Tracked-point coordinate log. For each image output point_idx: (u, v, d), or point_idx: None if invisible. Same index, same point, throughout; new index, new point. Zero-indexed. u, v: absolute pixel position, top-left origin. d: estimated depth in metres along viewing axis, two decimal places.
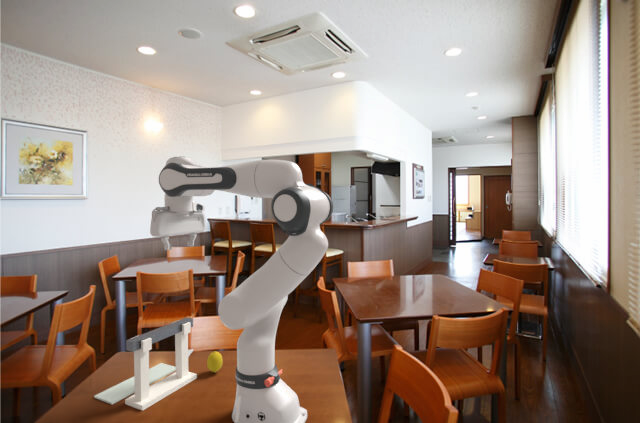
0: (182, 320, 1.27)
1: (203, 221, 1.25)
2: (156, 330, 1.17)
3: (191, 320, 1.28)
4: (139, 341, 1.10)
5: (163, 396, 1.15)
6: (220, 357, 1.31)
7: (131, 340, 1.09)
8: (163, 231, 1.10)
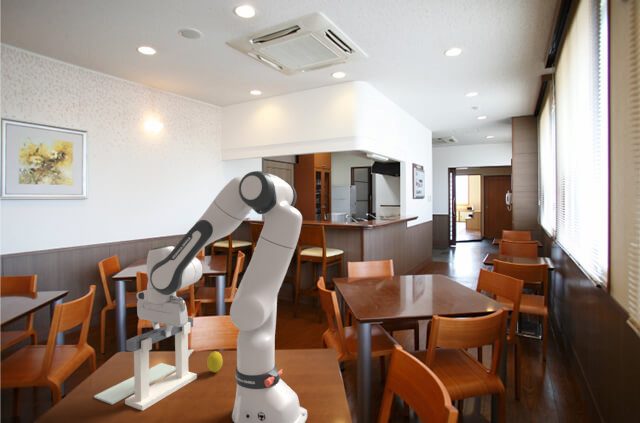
0: None
1: None
2: (156, 330, 1.17)
3: (191, 320, 1.28)
4: (139, 341, 1.10)
5: (163, 396, 1.15)
6: (220, 357, 1.31)
7: (131, 340, 1.09)
8: None
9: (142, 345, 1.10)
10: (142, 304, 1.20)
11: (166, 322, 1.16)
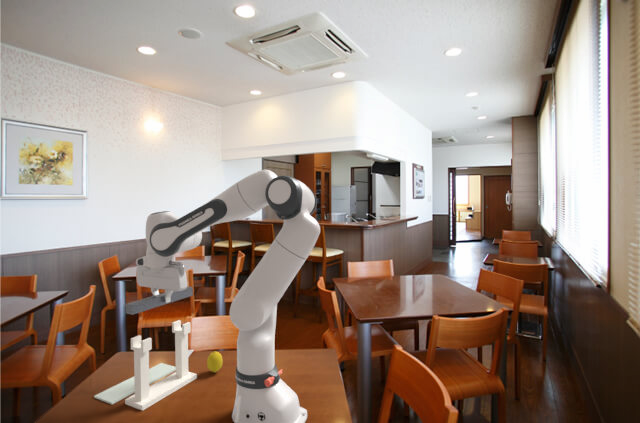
0: None
1: None
2: (156, 296, 1.17)
3: (191, 289, 1.28)
4: (139, 305, 1.09)
5: (163, 396, 1.15)
6: (220, 357, 1.31)
7: (131, 303, 1.09)
8: None
9: (142, 345, 1.10)
10: (141, 271, 1.20)
11: (166, 287, 1.15)
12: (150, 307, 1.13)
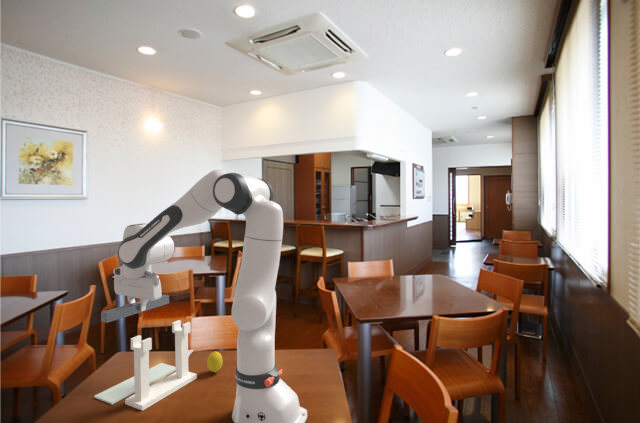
0: None
1: None
2: (131, 304, 1.22)
3: (167, 297, 1.34)
4: (113, 313, 1.15)
5: (163, 396, 1.15)
6: (220, 357, 1.31)
7: (106, 312, 1.14)
8: None
9: (142, 345, 1.10)
10: (119, 280, 1.25)
11: (141, 296, 1.21)
12: (125, 315, 1.18)
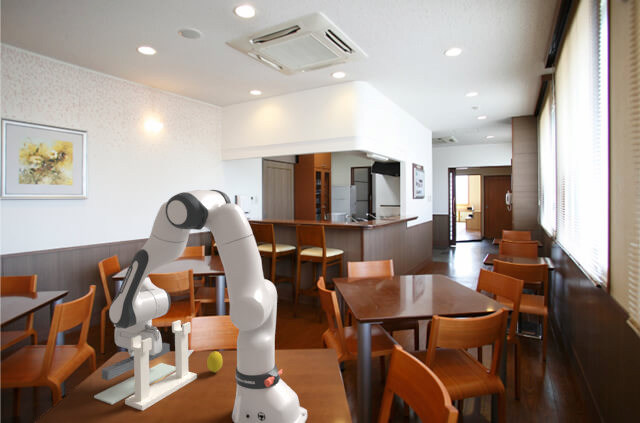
0: None
1: None
2: (132, 357, 1.23)
3: (167, 346, 1.34)
4: (114, 370, 1.15)
5: (163, 396, 1.15)
6: (220, 357, 1.31)
7: (106, 369, 1.14)
8: None
9: (142, 345, 1.10)
10: (119, 332, 1.26)
11: None
12: (126, 370, 1.19)
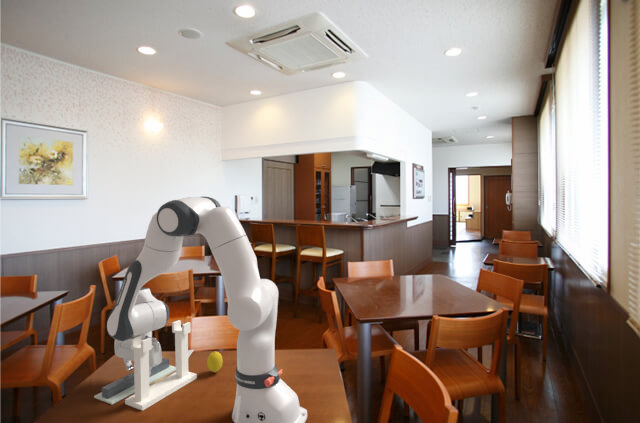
0: None
1: None
2: (132, 374, 1.23)
3: (167, 361, 1.34)
4: (114, 388, 1.15)
5: (163, 396, 1.15)
6: (220, 357, 1.31)
7: (106, 387, 1.15)
8: None
9: (142, 345, 1.10)
10: (119, 343, 1.26)
11: None
12: (126, 388, 1.19)
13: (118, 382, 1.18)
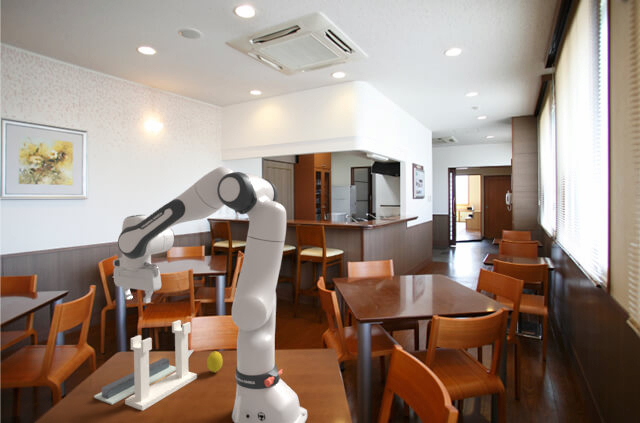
0: (158, 362, 1.33)
1: None
2: (132, 374, 1.23)
3: (167, 361, 1.34)
4: (114, 388, 1.15)
5: (163, 396, 1.15)
6: (220, 357, 1.31)
7: (106, 387, 1.15)
8: None
9: (142, 345, 1.10)
10: (118, 271, 1.25)
11: (140, 287, 1.21)
12: (126, 388, 1.19)
13: (118, 382, 1.18)
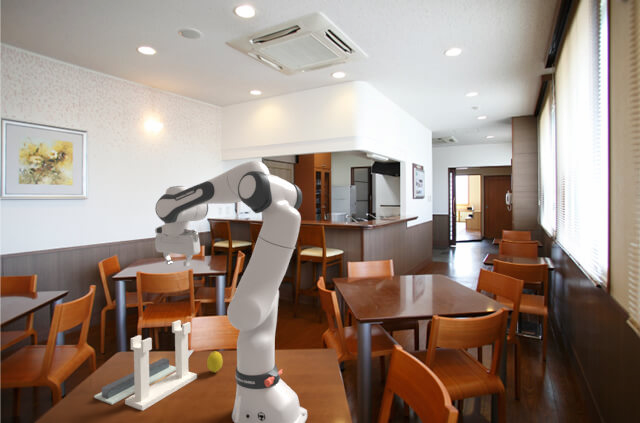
0: (158, 362, 1.33)
1: None
2: (132, 374, 1.23)
3: (167, 361, 1.34)
4: (114, 388, 1.15)
5: (163, 396, 1.15)
6: (220, 357, 1.31)
7: (106, 387, 1.15)
8: None
9: (142, 345, 1.10)
10: (160, 238, 1.37)
11: (181, 252, 1.32)
12: (126, 388, 1.19)
13: (118, 382, 1.18)
